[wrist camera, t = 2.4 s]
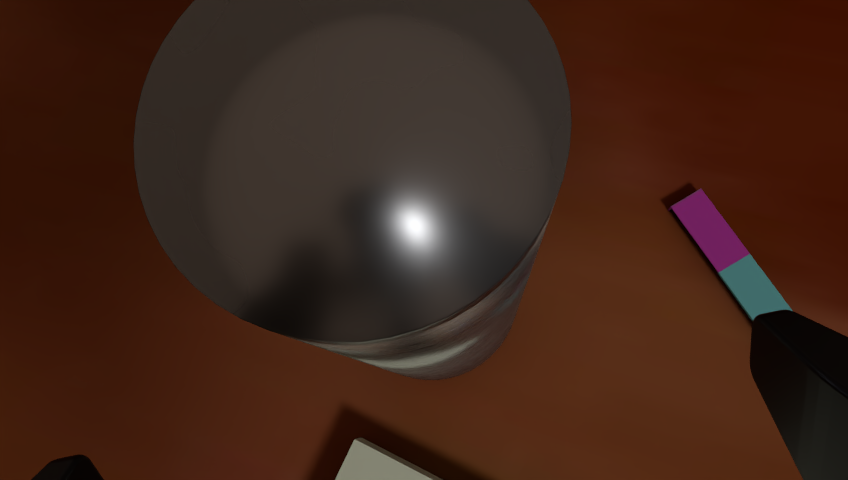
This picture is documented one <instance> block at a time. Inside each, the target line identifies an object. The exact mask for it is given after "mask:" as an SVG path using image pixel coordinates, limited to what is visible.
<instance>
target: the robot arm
mask: <svg viewBox="0 0 848 480" xmlns="http://www.w3.org/2000/svg"><path fill="white" fill-rule="evenodd" d="M750 369H751V373H752V376H753V379H754V381H755V383H756V385H757V387H758V389H759V391H760V393H761V395H762V397H763V399H764V401H765V403H766V405H767V407H768V409H769V411H770V413H771V415H772V418H773V420H774V422H775V424H776V426H777V428H778V430H779V432H780V434H781V436H782V438H783V440H784V442H785V444H786V446H787V448H788V450H789V452H790V454H791V456H792V458H793V460H794V462H795V464H796V466H797V468H798V470H799V472H800V474H801V476H802V478H803V480H848V337H846V336H844V335H842V334H840V333H838V332H836V331H834V330H832V329H829V328H827V327H825V326H823V325H821V324H819V323H817V322H815V321H813V320H810V319H808V318H806V317H804V316H802V315H800V314H798V313H796V312H793V311H791V310H778V311H773V312H768V313H763V314H759V315H757V316H756V317H755V318H754V320H753V324H752V334H751V349H750ZM31 480H104V479H103V478H102V476H101V475H100V473H99V472H98V471H97V469H96V468H95V466H94V465H93V463H92V462H91V460H90V459H89V458H88V457H86V456H84V455H73V456H69V457H64V458H59V459H56V460H53V461H51V462H49V463H48V464H47V465H46V466H45V467H44V468H43V469H42V470H41V471H40V472H39V473H38V474H37V475H36V476H35V477H33V478H32V479H31Z"/></svg>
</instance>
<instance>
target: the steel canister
mask: <svg viewBox="0 0 848 480" xmlns="http://www.w3.org/2000/svg"><path fill="white" fill-rule="evenodd" d="M570 135H571V108H570V95H569V90H568V85H567V80H566V75H565V71H564V67H563V64H562V62H561V59H560V56H559V53H558V51H557V48H556V45H555V43H554V41H553V39H552V37H551V35H550V33H549V32H548V30H547V28H546V26H545V24H544V22H543V20H542V19H541V18H540V16H539V15H538V13H537V12H536V11H535V9H534V8H533V7H532V5H531V4H530V2H529V1H528V0H194V1H193V3H192V4H191V5H190V6H189V7H188V8H187V9H186V11H185V12H184V13H183V14H182V15H181V16H180V18H179V19H178V20H177V22H176V23H175V25H174V26H173V27H172V29H171V30H170V32H169V33H168V35H167V36H166V38H165V39H164V41H163V43H162V45H161V46H160V48H159V50H158V52H157V54H156V56H155V58H154V60H153V62H152V64H151V66H150V69H149V72H148V75H147V77H146V80H145V83H144V85H143V88H142V92H141V96H140V100H139V105H138V109H137V113H136V122H135V132H134V163H135V172H136V178H137V184H138V189H139V194H140V197H141V200H142V204H143V207H144V210H145V213H146V216H147V219H148V221H149V223H150V225H151V227H152V229H153V231H154V233H155V235H156V237H157V239H158V241H159V243H160V245H161V246H162V248H163V249H164V250H165V252H166V253H167V255H168V256H169V258H170V259H171V261H172V262H173V263H174V265H175V266H176V267H177V268H178V270H179V271H180V272H181V273H182V274H183V275H184V276H185V277H186V278H187V279H188V280H189V281H190V282H191V283H192V285H193V286H194V287H196V288H197V289H198V290H199V291H201V292H202V293H203V294H204V295H205V296H207V297H208V298H209V299H210V300H212V301H213V302H214V303H215V304H217V305H218V306H220V307H222V308H224V309H225V310H227V311H229V312H230V313H232V314H234V315H235V316H237V317H239V318H240V319H243V320H245V321H247V322H250V323H252V324H255V325H257V326H259V327H262V328H264V329H267V330H269V331H272V332H275V333H278V334H281V335H284V336H287V337H290V338H293V339H296V340H299V341H302V342H305V343H308V344H311V345H314V346H317V347H320V348H323V349H326V350H329V351H332V352H335V353H338V354H341V355H344V356H347V357H350V358H353V359H355V360H358V361H361V362H364V363H367V364H370V365H373V366H376V367H379V368H382V369H385V370H388V371H391V372H394V373H397V374H400V375H403V376H407V377H411V378H414V379H422V380H440V379H447V378H452V377H455V376H459V375H462V374H464V373H466V372H468V371H471V370H473V369H474V368H476V367H477V366H479V365H481V364H482V363H483V362H485V361H486V360H487V359H488V358H490V357H491V356H492V355H493V354H494V352H495V351H496V350H497V349H498V348H499V347H500V345H501V344H502V343H503V341H504V340H505V338H506V336H507V334H508V333H509V331H510V329H511V326H512V324H513V321H514V318H515V315H516V312H517V310H518V307H519V304H520V301H521V298H522V295H523V292H524V289H525V287H526V284H527V281H528V278H529V275H530V272H531V269H532V267H533V264H534V261H535V258H536V255H537V252H538V249H539V246H540V244H541V241H542V238H543V235H544V232H545V229H546V226H547V223H548V221H549V218H550V215H551V212H552V209H553V206H554V203H555V200H556V198H557V195H558V192H559V189H560V186H561V183H562V180H563V177H564V172H565V168H566V163H567V159H568V154H569V147H570Z"/></svg>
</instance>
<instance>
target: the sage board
mask: <svg viewBox="0 0 848 480" xmlns="http://www.w3.org/2000/svg"><path fill="white" fill-rule="evenodd" d="M335 480H443V479H441V478H439V477H437V476H435V475H433V474H431V473H429V472H427V471H425V470H424V469H422V468H420V467H418V466H416V465H414V464H412V463H410V462H408V461H406V460H404V459H402V458H400V457H398V456H396V455H394V454H393V453H391V452H389V451H387V450H385V449H383V448H381V447H379V446H377V445H375V444H373V443H371V442H369V441H367V440H365V439H364V438H362V437H360V438H357V439H354V441H353V443H352V446H351V448H350V450H349V452H348V454H347V456H346V458H345V460H344V462H343V464H342V466H341V468H340V470H339V472H338V475H337V477H336V479H335Z"/></svg>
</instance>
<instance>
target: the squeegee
mask: <svg viewBox="0 0 848 480" xmlns="http://www.w3.org/2000/svg"><path fill="white" fill-rule="evenodd" d="M671 209H672V210H673V211H674V213H675V214H676V215H677V217H678V218H679V219H680V221H681V222H682V224H683V225H684V226H685V228H686V229H687V230H688V232H689V233H690V235H691V236H692V237H693V239H694V240H695V241H696V243H697V244H698V246H699V247H700V248H701V250H702V251H703V252H704V254H705V255H706V257H707V258H708V259H709V261H710V262H711V264H712V265H713V266H714V268H715V269H716V270H717V272H718V275H719V276H720V278H721V279H722V280H723V282H724V283H725V284H726V286H727V287H728V289H729V290H730V291H731V293H732V294H733V296H734V297H735V298H736V300H737V301H738V302H739V304H740V305H741V307H742V308H743V309H744V311H745V312H746V313H747V315H748V316H749V318H750V319H751V320H752V322H753V320H754V318H755V317H756V316H757V315H759V314H763V313H768V312H773V311H778V310H791V308H790V307H789V306H788V304H787V303H786V302H785V300H784V299H783V298H782V296H781V295H780V294H779V292H778V291H777V290H776V288H775V287H774V286H773V284H772V283H771V281H770V280H769V279H768V277H767V276H766V275H765V273H764V272H763V271H762V270H761V268H760V267H759V266H758V264H757V263H756V262H755V260H754V259H753V257H752V256H751V255H750V253H749V252H748V251H747V249H746V248H745V247H744V245H743V244H742V243H741V241H740V240H739V239H738V237H737V236H736V235H735V233H734V232H733V231H732V229H731V228H730V227H729V225H728V224H727V223H726V221H725V220H724V219H723V217H722V216H721V215H720V213H719V212H718V210H717V209H716V208H715V206H714V205H713V204H712V202H711V201H710V200H709V198H708V197H707V196H706V194H705V193H704V192H703V190H702V189H699V190H698V191H696V192H694V193H693V194H691V195H689V196H687V197H686V198H684V199H682V200H681V201H679V202H677V203H676V204H674V205H672V206H671V207H670V208H669V209H668V211H669V210H671ZM791 311H792V310H791Z"/></svg>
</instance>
